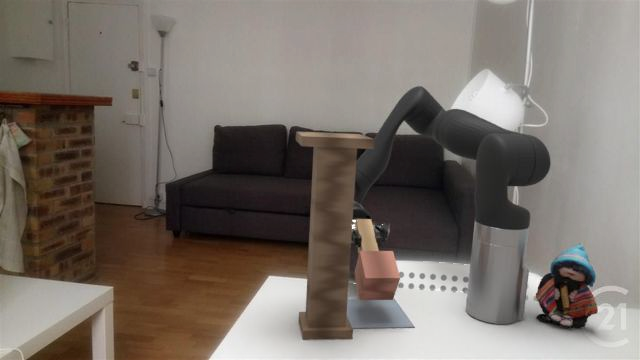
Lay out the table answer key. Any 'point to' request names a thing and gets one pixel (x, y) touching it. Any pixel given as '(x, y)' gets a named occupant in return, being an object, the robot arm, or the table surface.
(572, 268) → the figurine
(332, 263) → the wooden pedestal column
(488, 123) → the robot arm
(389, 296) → the mallet
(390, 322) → the pad
